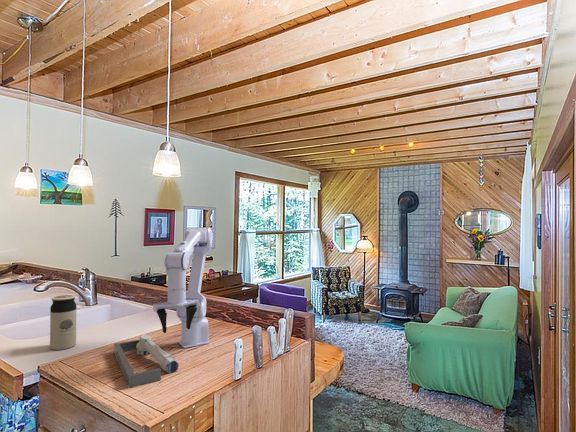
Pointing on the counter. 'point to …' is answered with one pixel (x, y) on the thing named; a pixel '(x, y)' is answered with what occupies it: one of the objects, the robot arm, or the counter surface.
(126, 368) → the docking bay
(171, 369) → the white handheld device
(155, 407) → the counter surface
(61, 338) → the travel mug
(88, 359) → the counter surface
